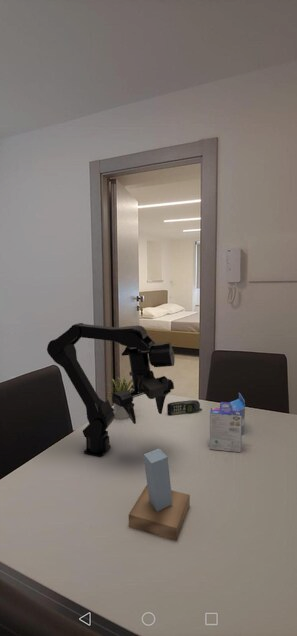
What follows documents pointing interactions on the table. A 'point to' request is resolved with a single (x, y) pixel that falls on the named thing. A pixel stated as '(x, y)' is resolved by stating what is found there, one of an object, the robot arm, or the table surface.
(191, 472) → the table surface
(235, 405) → the label tape box
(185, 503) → the walnut block
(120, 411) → the house plant
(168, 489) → the slate block
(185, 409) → the mobile phone
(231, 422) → the ink cartridge box
